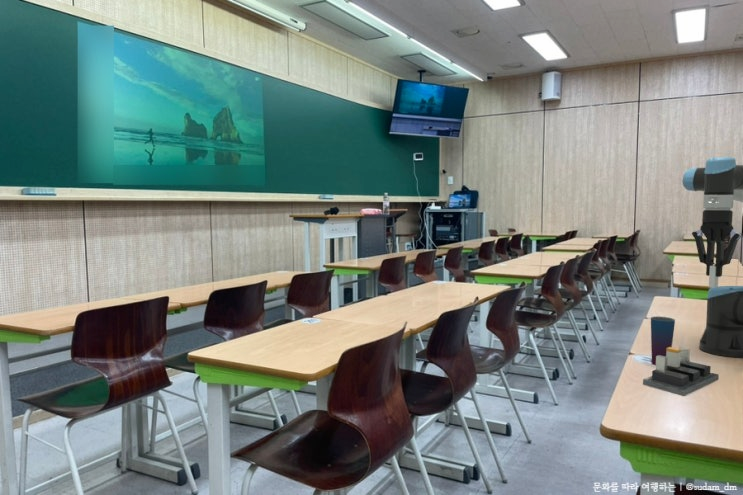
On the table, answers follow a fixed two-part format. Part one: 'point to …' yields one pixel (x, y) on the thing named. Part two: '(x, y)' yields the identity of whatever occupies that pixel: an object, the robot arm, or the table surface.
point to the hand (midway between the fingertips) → (713, 286)
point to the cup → (661, 335)
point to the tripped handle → (673, 356)
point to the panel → (680, 375)
